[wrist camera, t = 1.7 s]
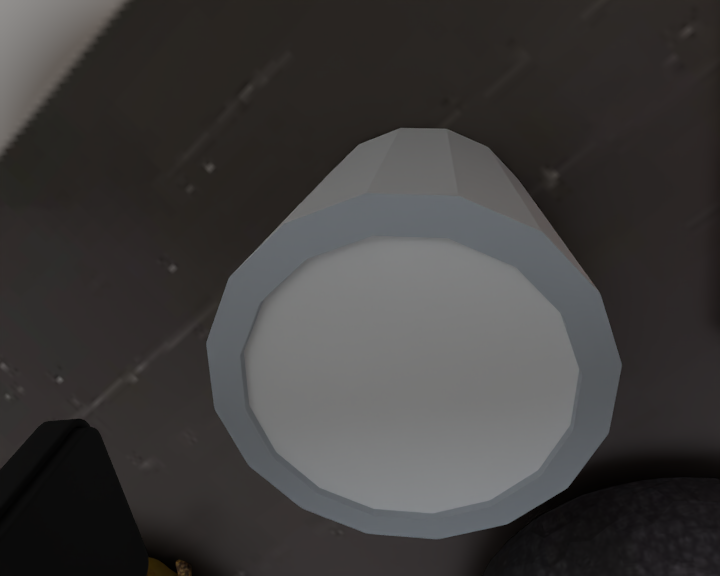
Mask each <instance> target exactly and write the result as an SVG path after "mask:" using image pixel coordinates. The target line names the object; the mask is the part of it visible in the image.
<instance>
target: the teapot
mask: <svg viewBox="0 0 720 576" xmlns="http://www.w3.org/2000/svg"><path fill="white" fill-rule="evenodd" d="M482 576H720V479H716V478H686V477H678V478H657V479H649V480H641V481H636V482H631V483H626V484H621V485H617V486H612V487H608V488H605V489H601V490H598V491H595V492H591V493H588V494H585V495H581V496H579V497H577V498H575V499H573V500H570V501H568V502H566V503H564V504H562V505H560V506H558V507H556V508H554V509H552V510H550V511H549V512H547V513H545V514H543V515H541V516H539V517H538V518H536V519H535V520H533V521H532V522H531V523H529V524H528V525H527V526H526V527H524V528H523V529H522V530H521V531H520V532H518V533H517V534H516V535H515V536H513V537H512V538H511V539H510V540H509V541H507V543H506V544H505V545H504V546H503V547H502V548H501V549H500V551H499V552H498V553H497V554H496V555H495V556H494V557H493V559H492V560H491V561H490V563H489V564H488V566H487V568H486V570H485V571H484V573H483V575H482Z"/></svg>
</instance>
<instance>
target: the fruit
mask: <svg viewBox="0 0 720 576" xmlns="http://www.w3.org/2000/svg"><path fill="white" fill-rule="evenodd" d="M148 559H149V566H148V572H147V576H192V569H191V564H188V563H187V562H185V561H182V560H177V561H176V568H177V572H178V574H177V573H175V572H174V571H172V570H171V569H169V568H168V567H167V566H166V565H164V564H163V563H162V562H160V561H159V560H156V559H154V558H150V557H148Z"/></svg>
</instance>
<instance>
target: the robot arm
mask: <svg viewBox="0 0 720 576" xmlns="http://www.w3.org/2000/svg"><path fill="white" fill-rule="evenodd" d="M148 566H149V559H148V553H147V550H146V548H145V545H144V543H143V540H142V538H141V535H140V533H139V530H138V528H137V525H136V523H135V520H134V518H133V515H132V513H131V510H130V508H129V505H128V503H127V500H126V498H125V495H124V493H123V490H122V488H121V485H120V483H119V480H118V477H117V475H116V472H115V470H114V467H113V465H112V462H111V460H110V457H109V455H108V452H107V450H106V447H105V445H104V442H103V440H102V437H101V435H100V433H99V431H98V430H97V429H95V428H93V427H90V425H89V424H88V423H87V422H86V421H85V420H82V419H71V420H58V421H48V422H44V423H43V424H41V425H40V426H39V427H38V428H37V429H36V430H35V431H34V433H33V434H32V435H31V436H30V437H29V438H28V439H27V440H26V442H25V443H24V444H23V445H22V446H21V447H20V448H19V449H18V450H17V452H16V453H15V454H14V455H13V456H12V457H11V458H10V459H9V461H8V462H7V463H6V464H5V465H4V466H3V467H2V468H1V470H0V576H147V572H148Z"/></svg>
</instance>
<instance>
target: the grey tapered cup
mask: <svg viewBox="0 0 720 576" xmlns="http://www.w3.org/2000/svg"><path fill="white" fill-rule="evenodd" d="M206 346H207V354H208V362H209V370H210V378H211V386H212V394H213V402H214V409H215V411H216V412H217V414H218V416H219V417H220V419H221V421H222V422H223V424H224V426H225V427H226V429H227V431H228V432H229V434H230V436H231V437H232V439H233V441H234V442H235V444H236V446H237V447H238V449H239V451H240V452H241V454H242V456H243V457H244V459H245V461H246V462H247V464H248V466H250V467H251V468H252V469H253V470H255V471H256V472H257V473H258V474H260V475H261V476H262V477H263V478H265V479H266V480H267V481H268V482H270V483H271V484H272V485H273V486H275V487H276V488H277V489H278V490H280V491H281V492H282V493H283V494H284V495H286V496H287V497H288V498H289V499H291V500H292V501H293V502H294V503H296V504H297V505H298V506H299V507H301V508H302V509H305V510H307V511H310V512H313V513H315V514H318V515H320V516H323V517H325V518H328V519H331V520H333V521H336V522H338V523H341V524H344V525H346V526H349V527H351V528H354V529H356V530H359V531H362V532H364V533H367V534H378V535H391V536H403V537H415V538H428V539H442V538H447V537H451V536H456V535H460V534H465V533H470V532H474V531H479V530H483V529H488V528H493V527H497V526H502V525H506V524H509V523H510V522H512V521H514V520H515V519H517V518H519V517H520V516H522V515H524V514H525V513H527V512H529V511H530V510H532V509H534V508H535V507H537V506H539V505H540V504H542V503H544V502H545V501H547V500H549V499H550V498H552V497H554V496H555V495H557V494H559V493H560V492H562V491H564V490H565V489H567V488H568V487H569V486H570V484H571V483H572V482H573V480H574V479H575V478H576V476H577V475H578V474H579V472H580V471H581V470H582V468H583V467H584V466H585V464H586V463H587V462H588V460H589V459H590V458H591V456H592V455H593V454H594V452H595V451H596V450H597V448H598V447H599V446H600V444H601V443H602V442H603V440H604V439H605V438H606V436H607V435H608V434H609V429H610V424H611V419H612V414H613V409H614V404H615V399H616V393H617V388H618V383H619V378H620V373H621V368H622V363H621V360H620V357H619V354H618V350H617V347H616V344H615V340H614V337H613V334H612V331H611V327H610V324H609V321H608V317H607V314H606V311H605V308H604V304H603V301H602V298H601V294H600V292H599V291H598V290H597V288H596V287H595V285H594V284H593V283H592V281H591V280H590V278H589V277H588V276H587V274H586V273H585V271H584V270H583V269H582V267H581V266H580V265H579V263H578V262H577V260H576V259H575V258H574V256H573V255H572V253H571V252H570V251H569V249H568V248H567V246H566V245H565V244H564V242H563V241H562V239H561V238H560V237H559V235H558V234H557V233H556V231H555V230H554V228H553V227H552V226H551V224H550V223H549V221H548V220H547V219H546V217H545V216H544V214H543V213H542V212H541V210H540V209H539V208H538V206H537V205H536V203H535V202H534V201H533V199H532V198H531V196H530V195H529V194H528V192H527V191H526V189H525V188H524V187H523V185H522V184H521V183H520V181H519V180H518V179H517V177H516V176H515V175H514V174H513V173H512V172H511V171H510V170H509V169H508V168H507V167H506V166H505V165H504V163H503V162H502V161H501V160H500V159H499V158H498V157H497V156H496V155H495V154H494V153H493V152H492V150H491V149H490V148H489V147H487V146H485V145H483V144H480V143H478V142H476V141H473V140H471V139H469V138H467V137H464V136H462V135H460V134H457V133H455V132H453V131H451V130H448V129H436V128H399V129H396V130H394V131H391V132H389V133H386V134H384V135H381V136H379V137H376V138H374V139H371V140H369V141H366V142H363V143H361V144H359V145H358V146H357V147H356V148H355V149H354V150H353V151H351V152H350V153H349V154H348V155H347V156H346V157H345V158H344V159H343V160H342V161H341V162H340V163H339V164H338V165H337V166H336V167H335V168H334V169H333V170H332V171H331V172H330V173H329V174H328V175H327V176H326V177H325V178H324V179H323V180H322V181H321V182H320V184H319V185H318V186H317V187H316V188H315V189H314V190H313V191H312V192H311V193H310V194H309V195H308V196H307V197H306V198H305V199H304V200H303V201H302V202H301V203H300V204H299V205H298V206H297V207H296V208H295V210H294V211H293V212H292V213H291V214H290V215H289V216H288V217H287V218H286V219H285V220H284V221H283V222H282V223H281V224H280V225H279V226H278V227H277V228H276V229H275V230H274V231H273V232H272V233H271V235H270V236H269V237H268V238H267V239H266V240H265V241H264V242H263V243H262V244H261V245H260V246H259V247H258V248H257V249H256V250H255V251H254V252H253V253H252V254H251V255H250V256H249V257H248V258H247V259H246V261H245V262H244V263H243V264H242V265H241V266H240V267H239V268H238V269H237V270H236V271H235V272H234V273H233V274H232V275H231V276H230V277H229V279H228V282H227V285H226V288H225V291H224V293H223V296H222V299H221V302H220V305H219V308H218V311H217V314H216V316H215V319H214V322H213V325H212V328H211V331H210V334H209V336H208V339H207V342H206Z"/></svg>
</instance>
